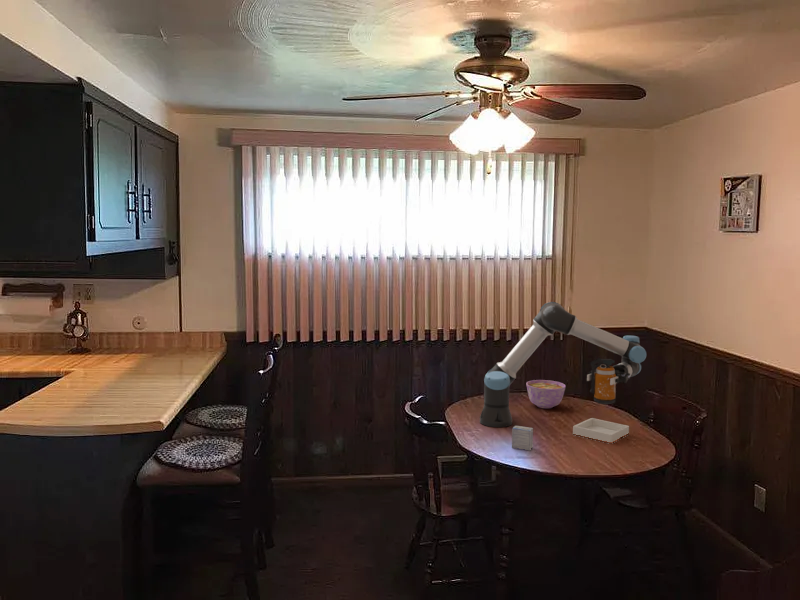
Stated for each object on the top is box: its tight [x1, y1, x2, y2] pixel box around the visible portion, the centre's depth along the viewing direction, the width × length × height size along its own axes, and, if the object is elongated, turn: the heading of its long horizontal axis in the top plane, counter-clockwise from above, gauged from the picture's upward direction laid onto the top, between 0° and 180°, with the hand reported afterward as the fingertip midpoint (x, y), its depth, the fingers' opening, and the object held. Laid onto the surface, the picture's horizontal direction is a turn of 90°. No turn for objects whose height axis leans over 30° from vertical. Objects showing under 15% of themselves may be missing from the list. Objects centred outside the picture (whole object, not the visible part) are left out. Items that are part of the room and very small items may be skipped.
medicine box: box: [511, 425, 534, 451], centre depth 277 cm, size 8×4×9 cm, turn 65°
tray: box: [572, 417, 630, 442], centre depth 296 cm, size 18×18×4 cm
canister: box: [589, 357, 617, 405], centre depth 294 cm, size 9×11×20 cm
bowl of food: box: [526, 379, 566, 409], centre depth 341 cm, size 20×20×12 cm
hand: (599, 379), depth 290 cm, fingers closed on canister, 10 cm apart
